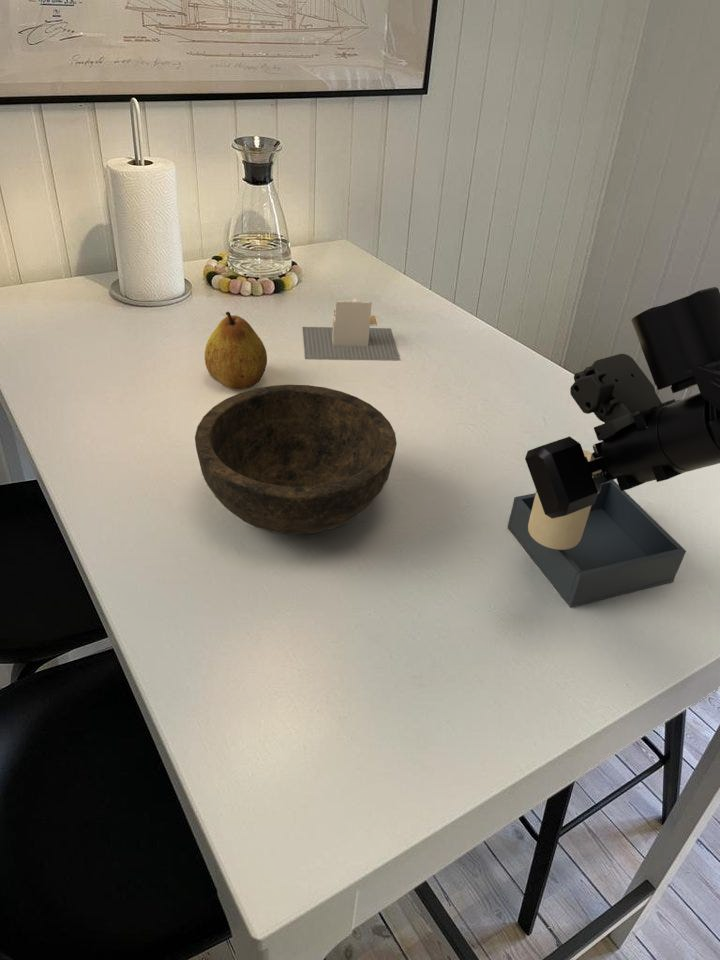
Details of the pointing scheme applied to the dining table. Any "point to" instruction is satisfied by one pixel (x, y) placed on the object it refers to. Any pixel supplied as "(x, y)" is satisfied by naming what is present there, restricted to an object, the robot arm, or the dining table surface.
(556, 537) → the candle
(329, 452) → the bowl
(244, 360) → the fruit
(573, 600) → the dark gray square tray
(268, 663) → the dining table surface
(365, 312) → the architectural model
